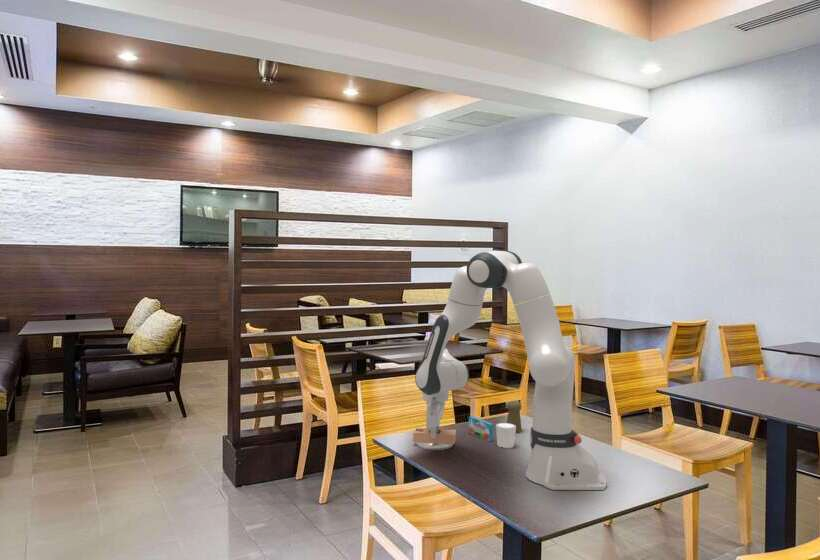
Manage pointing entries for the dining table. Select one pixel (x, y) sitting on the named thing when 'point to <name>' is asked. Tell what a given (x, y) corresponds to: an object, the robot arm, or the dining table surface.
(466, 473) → the dining table surface
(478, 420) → the blue printed cardboard box
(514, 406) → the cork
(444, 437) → the orange letter a block
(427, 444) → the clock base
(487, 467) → the dining table surface
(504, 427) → the white cylindrical downlight
